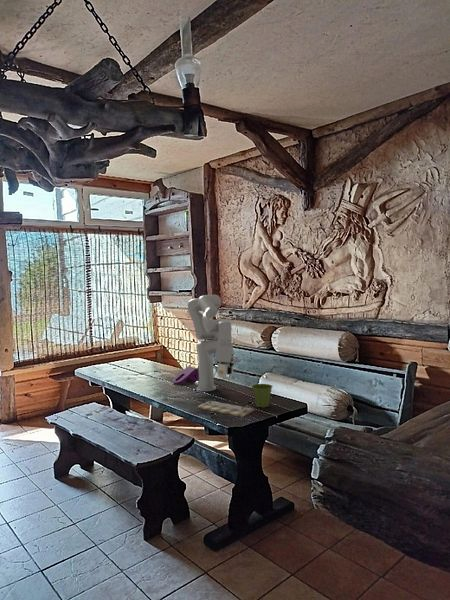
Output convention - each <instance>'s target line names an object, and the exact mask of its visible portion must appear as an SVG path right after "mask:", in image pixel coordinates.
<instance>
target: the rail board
mask: <svg viewBox="0 0 450 600" xmlns="http://www.w3.org/2000/svg"><path fill="white" fill-rule="evenodd" d="M210 401H211V402H217V403H222V404H227V405H232V406H238V407H243V408H247V411H245V412H240V411H235V410H230V409H225V408H220V407H214V406H209V405H205V402H203V403H202V404H199V405H197V408H198V409H203V410H206V411H211V412H217V413H222V414H227V415H231V416H235V417H242V418H243V417H246V416H248V415H249V414H251V413H253V412H255V411H256V410H255V408H251V407H247V406H240V405H235V404H231V403H226V402H219V401H213V400H210Z"/></svg>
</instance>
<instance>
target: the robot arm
mask: <svg viewBox="0 0 450 600" xmlns="http://www.w3.org/2000/svg"><path fill="white" fill-rule="evenodd" d="M221 306H222V299H221V297H220V296H219V295H218V294H203V295H201V296H199V297H197V298H192V299H190V300H189V301H188V302H187V311H188V314H189V317H190V318H191V320H192V323H193V328H194V333H195V336H196V338H197V339H198V340H201V341H198V342H197V344H196V353H197V359H198V372H199V379H198V381H196V382H194V385H197V387H196V390H197V391H200V392H212V391H215V390H216V389H217V386H216V385H215V384H214V383H215V382H214V381H215V380H214V379H215V377H214V376H215V375H214V362H213V359H212V358H211V357H210V356H213V355H215V358H214V361H215V362H216V363H217V365H218V364H219V363H221V362H225V363H227V364H228V374H231V373H232V366H233V367H234V365H235V364H236V363H237V360H236V358H235V354H234V347H233V344H232V322H231V321H229V320H227V319H226V318H221V319H219V318H218V319H213V318H215V317H216V316H217V314H218V312H219V311H218V308H220V307H221ZM201 312H203V313H201Z"/></svg>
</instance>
